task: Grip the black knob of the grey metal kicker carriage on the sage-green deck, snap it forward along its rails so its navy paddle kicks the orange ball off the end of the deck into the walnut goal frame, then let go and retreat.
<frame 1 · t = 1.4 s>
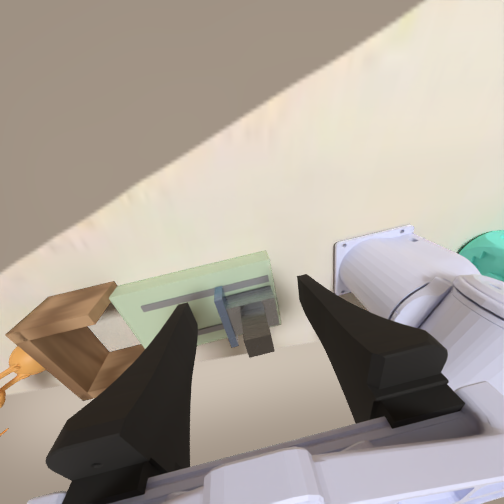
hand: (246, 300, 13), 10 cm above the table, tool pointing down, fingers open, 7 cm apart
deck: (205, 301, 25), on the table
kicker: (251, 323, 21), point 5 cm above the table, slide at 0.0 cm
figurine: (41, 340, 25), on the table
goal: (109, 324, 25), on the table
decorative dice: (476, 256, 28), on the table
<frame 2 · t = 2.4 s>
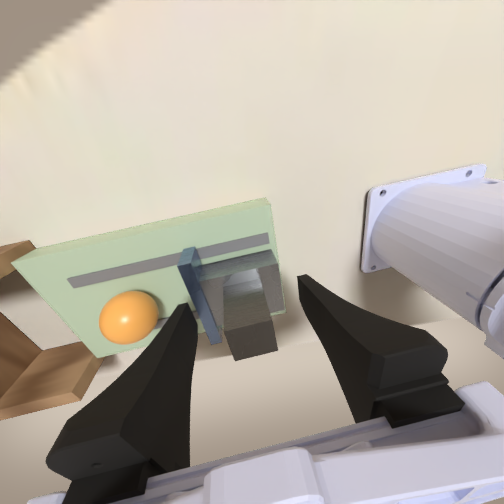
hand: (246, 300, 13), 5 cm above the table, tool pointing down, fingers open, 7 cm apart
deck: (177, 277, 17), on the table
kicker: (240, 306, 13), point 5 cm above the table, slide at 0.0 cm
ball: (130, 316, 14), point 4 cm above the table, touching deck
goal: (34, 310, 17), on the table
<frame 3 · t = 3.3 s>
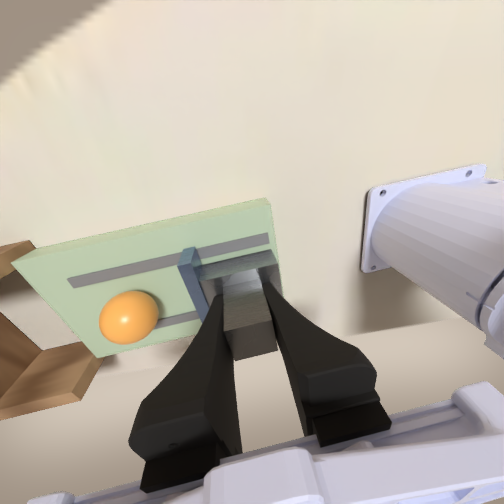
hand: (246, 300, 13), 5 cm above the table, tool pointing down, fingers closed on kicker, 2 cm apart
deck: (176, 277, 17), on the table
kicker: (240, 306, 13), point 5 cm above the table, slide at 0.0 cm, touching gripper
ball: (130, 316, 14), point 4 cm above the table, touching deck
goal: (34, 310, 17), on the table
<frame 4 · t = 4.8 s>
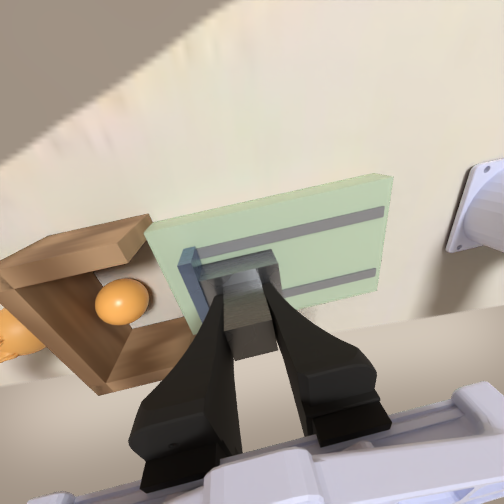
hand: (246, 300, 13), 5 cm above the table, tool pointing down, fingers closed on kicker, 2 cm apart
deck: (273, 254, 17), on the table
kicker: (240, 305, 13), point 5 cm above the table, slide at 8.5 cm, touching gripper
ball: (123, 301, 16), point 2 cm above the table, tilted 20°
figurine: (37, 308, 17), on the table
goal: (135, 286, 17), on the table
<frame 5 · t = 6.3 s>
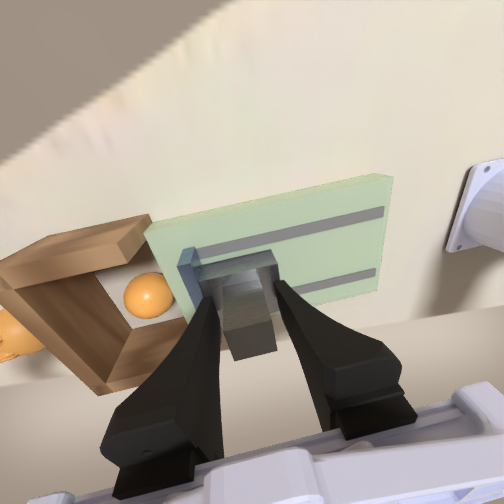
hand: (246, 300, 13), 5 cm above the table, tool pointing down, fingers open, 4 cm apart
deck: (273, 254, 17), on the table
kicker: (240, 306, 13), point 5 cm above the table, slide at 8.5 cm
ball: (150, 295, 16), point 2 cm above the table, tilted 89°
figurine: (37, 308, 17), on the table
goal: (135, 286, 17), on the table
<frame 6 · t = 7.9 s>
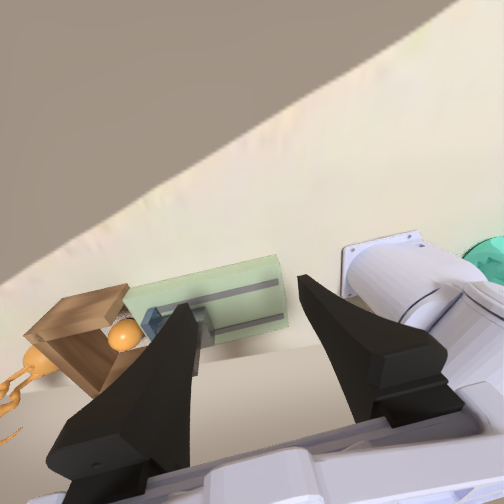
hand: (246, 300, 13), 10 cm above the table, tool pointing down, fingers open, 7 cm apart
deck: (215, 303, 25), on the table
kicker: (181, 346, 21), point 5 cm above the table, slide at 8.5 cm
ball: (126, 334, 24), point 2 cm above the table, tilted 77°
figurine: (53, 340, 25), on the table
goal: (120, 325, 25), on the table
decorative dice: (481, 261, 29), on the table
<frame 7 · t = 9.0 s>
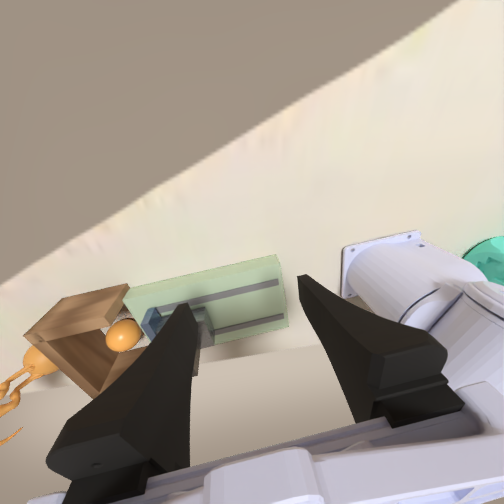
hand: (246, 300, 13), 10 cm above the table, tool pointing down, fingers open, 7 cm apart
deck: (215, 303, 25), on the table
kicker: (181, 346, 21), point 5 cm above the table, slide at 8.5 cm
ball: (124, 335, 24), point 2 cm above the table, tilted 69°
figurine: (53, 340, 25), on the table
goal: (120, 325, 25), on the table
decorative dice: (481, 261, 29), on the table
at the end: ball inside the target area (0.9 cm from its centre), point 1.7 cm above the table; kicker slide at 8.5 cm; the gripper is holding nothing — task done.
